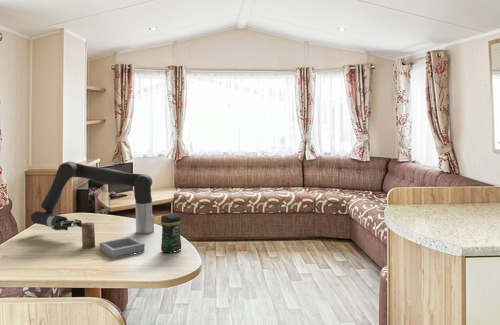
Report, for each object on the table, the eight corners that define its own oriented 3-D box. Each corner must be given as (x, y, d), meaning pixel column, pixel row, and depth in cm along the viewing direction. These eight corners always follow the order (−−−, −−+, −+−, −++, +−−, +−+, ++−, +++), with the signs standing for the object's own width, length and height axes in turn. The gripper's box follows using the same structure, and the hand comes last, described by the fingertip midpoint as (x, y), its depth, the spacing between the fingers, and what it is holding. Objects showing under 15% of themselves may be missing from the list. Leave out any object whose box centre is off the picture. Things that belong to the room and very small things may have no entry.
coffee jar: (169, 254, 202) (168, 216, 200) (158, 251, 206) (157, 214, 205) (184, 250, 209) (183, 213, 207) (173, 247, 214) (173, 211, 212)
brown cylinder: (92, 244, 219) (91, 221, 217) (96, 247, 214) (95, 224, 213) (80, 246, 215) (79, 223, 214) (84, 249, 210) (83, 226, 209)
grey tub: (130, 244, 218) (130, 237, 218) (144, 251, 206) (144, 243, 206) (100, 250, 208) (99, 242, 208) (112, 258, 196) (112, 250, 195)
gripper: (44, 217, 223) (61, 222, 214) (69, 213, 235) (86, 217, 225) (44, 231, 224) (62, 236, 214) (69, 226, 235) (87, 230, 226)
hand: (74, 226), depth 220 cm, fingers open, 8 cm apart
